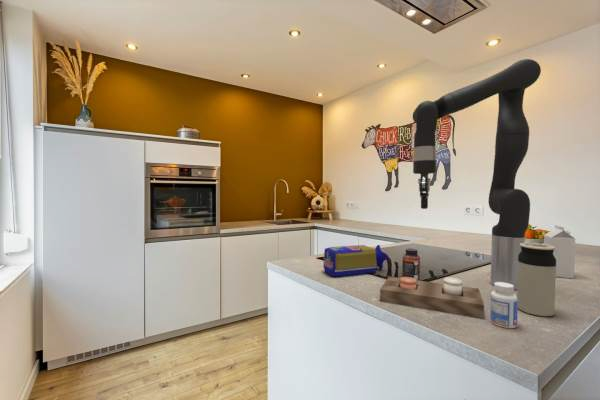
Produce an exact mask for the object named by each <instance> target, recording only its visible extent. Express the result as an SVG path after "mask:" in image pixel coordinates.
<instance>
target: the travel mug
mask: <svg viewBox="0 0 600 400" xmlns="http://www.w3.org/2000/svg"><path fill="white" fill-rule="evenodd" d="M520 246H521V250H522V251H521V252H520V253H519V255H518V278H517V290H516V296H517V300H518V303H517V310H519V311H521V312H524V313H526V314H528V315H533V316H538V317H552V316H554V315H555V306H556V305H555V303H556V278H557V277H556V258H555V257H554V255H553V252H554V249H555V247H554V246H551V245H546V244H544V243H536V242H525V243H520Z"/></svg>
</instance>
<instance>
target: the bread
mask: <svg viewBox="0 0 600 400" xmlns="http://www.w3.org/2000/svg"><path fill="white" fill-rule="evenodd" d="M323 252H324V255H323V270H324V272H325V273H326V274H328V275H329V276H331V277H332V278H341V277H348V276H358V275H367V274H368V275H369V274H374V273H376V272H377V269H380V270H382V269H383V267H384V266H383V263H384V262H385V261H386V260H387V259H388V258H389V255H388V254H387V253H386V252H383V251H382V250H381V246H380V244H378V245H376V246H375V247H371V246H367V245H365V244H358V245H343V246H342V245H341V246H331V247H326V248H324V251H323Z"/></svg>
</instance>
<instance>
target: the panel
mask: <svg viewBox="0 0 600 400" xmlns="http://www.w3.org/2000/svg"><path fill="white" fill-rule="evenodd" d="M400 278H401V277H394V276H387V278H386V280H385V281H384V282H383V284H382V286H381V287H380V290H379V300H380V302H384V303H390V304H395V305H396V304H397V305H403V306H408V307H413V308H419V309H425V310H430V311H431V310H432V311H438V312H442V313H443V312H444V313H449V314H455V315H461V316H467V317H471V318H479V319H485V315H484V314H485V304H484V302H483V301H484V300H483V298H482V295H481V294H482V293H481V292H480V289H479V288H478V287H469V286H464V285H462V296H455V295H448V294H444V283H439V282H433V281H427V280H426V281H424V280H419V281H418V280H416V290H414V289H408V288H401V287H400Z"/></svg>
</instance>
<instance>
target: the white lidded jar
mask: <svg viewBox="0 0 600 400" xmlns="http://www.w3.org/2000/svg"><path fill="white" fill-rule="evenodd" d="M443 284H444V294H448V295H455V296H462V286H463V280H462V279H460V278H458V277H457V278H456V277H450V276H446V277H444V278H443Z"/></svg>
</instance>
